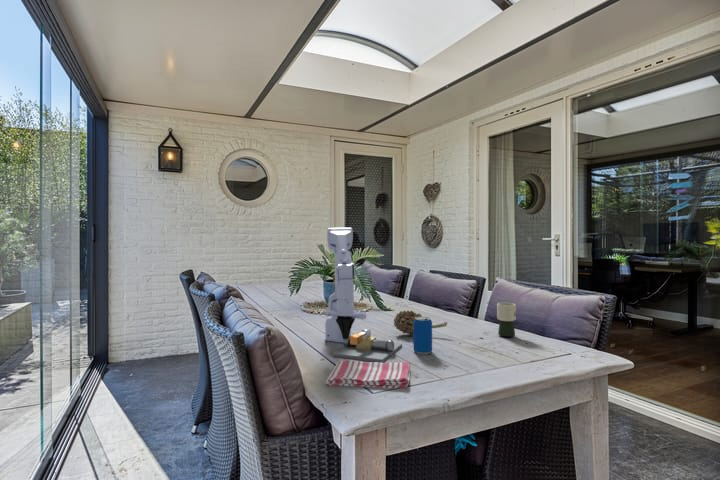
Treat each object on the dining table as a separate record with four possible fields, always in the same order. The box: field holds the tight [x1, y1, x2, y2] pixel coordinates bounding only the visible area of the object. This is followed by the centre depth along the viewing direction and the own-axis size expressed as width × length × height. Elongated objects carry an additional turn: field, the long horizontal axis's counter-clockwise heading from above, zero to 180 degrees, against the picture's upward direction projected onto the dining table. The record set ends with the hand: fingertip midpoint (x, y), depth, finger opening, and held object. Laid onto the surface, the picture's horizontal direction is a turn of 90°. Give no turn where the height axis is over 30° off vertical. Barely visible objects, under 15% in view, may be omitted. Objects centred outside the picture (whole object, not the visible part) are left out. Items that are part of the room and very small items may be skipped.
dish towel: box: [325, 360, 411, 389], centre depth 122 cm, size 17×23×4 cm
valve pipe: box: [343, 336, 395, 352], centre depth 147 cm, size 18×5×4 cm, turn 66°
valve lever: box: [350, 328, 372, 345], centre depth 143 cm, size 12×3×2 cm, turn 156°
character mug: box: [496, 302, 517, 338], centre depth 165 cm, size 11×7×13 cm, turn 177°
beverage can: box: [412, 316, 433, 355], centre depth 145 cm, size 6×6×12 cm
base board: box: [332, 342, 403, 363], centre depth 147 cm, size 18×20×1 cm
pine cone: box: [393, 310, 449, 336], centre depth 168 cm, size 22×10×10 cm, turn 81°
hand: (345, 338), depth 142 cm, fingers closed
